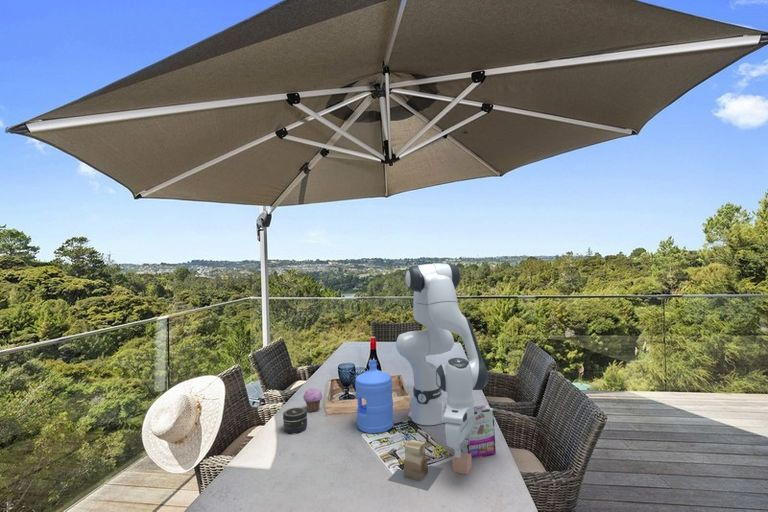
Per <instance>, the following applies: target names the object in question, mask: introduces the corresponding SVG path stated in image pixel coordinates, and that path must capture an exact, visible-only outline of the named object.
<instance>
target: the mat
mask: <svg viewBox="0 0 768 512" xmlns="http://www.w3.org/2000/svg"><path fill="white" fill-rule="evenodd" d="M428 465H429V466H428V472H427V474H426V475H425V476H424V477H423V479H422V480H421V481H419V480H415V479H411V478H407V477H404V471H403V470H404V469H403V470H402V469H401V470H400V469H398V468H397V469H396V470H395V471H394V472H393V474H392V475H391V476H390V477H389V478H388V479H387V481H388V482H393V483H396V484H400V485H404V486H408V487H411V488H416V489H418V490H419V489H420V490H424V491H426V492H427V491H429V490H430V489H431V487H432V486H433V484H434V483H435V481H436V480H437V478H438V477H439V475H440V474H441V473H442V472H443V470H444V467H439V466H436V465H435V466H434V465H431V464H428Z"/></svg>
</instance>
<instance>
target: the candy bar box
mask: <svg viewBox="0 0 768 512" xmlns="http://www.w3.org/2000/svg"><path fill="white" fill-rule="evenodd" d="M494 415H495V414H494V408H493V407H491V406H489V404H483V405H478V406H474V417H475V425H474V427H473V428H472V430H471V433H470V443H469V444H468V445H465V444H464V443H463V442H464V441H463V442H462V444H461V445H462V452H464V453H469V454H471V458H472V459H474V458H481V457H487V456H492V455H495V454H497V453H496V450H497V449H496V448H497V447H496V433H495V419H494V418H495V416H494Z"/></svg>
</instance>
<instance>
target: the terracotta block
mask: <svg viewBox="0 0 768 512" xmlns="http://www.w3.org/2000/svg"><path fill="white" fill-rule="evenodd" d="M472 459H473V458H471V454H469V453H464V452H463V451H461V456H460V457H455V454H454V455H453V456H452V458H451V460H452V462H451V463H452V472H453V473H458V474H461V475H462V474H463V475H467V476H468V474H469V473H470V471H471V469H472V468H473V461H472Z"/></svg>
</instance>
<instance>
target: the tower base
mask: <svg viewBox="0 0 768 512" xmlns="http://www.w3.org/2000/svg"><path fill="white" fill-rule="evenodd" d="M402 464H404V477H407V478H411V479H415V480H419V481H421V480H422V479H423V477H424V476H425V475H426V474H427V472H428V465H429V464H428V456H426V455H425V458H424V460H423V461H422V462H421V463H420V464H415V463H411V462H406V461H405V459H404V460H403V462H402Z"/></svg>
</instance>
